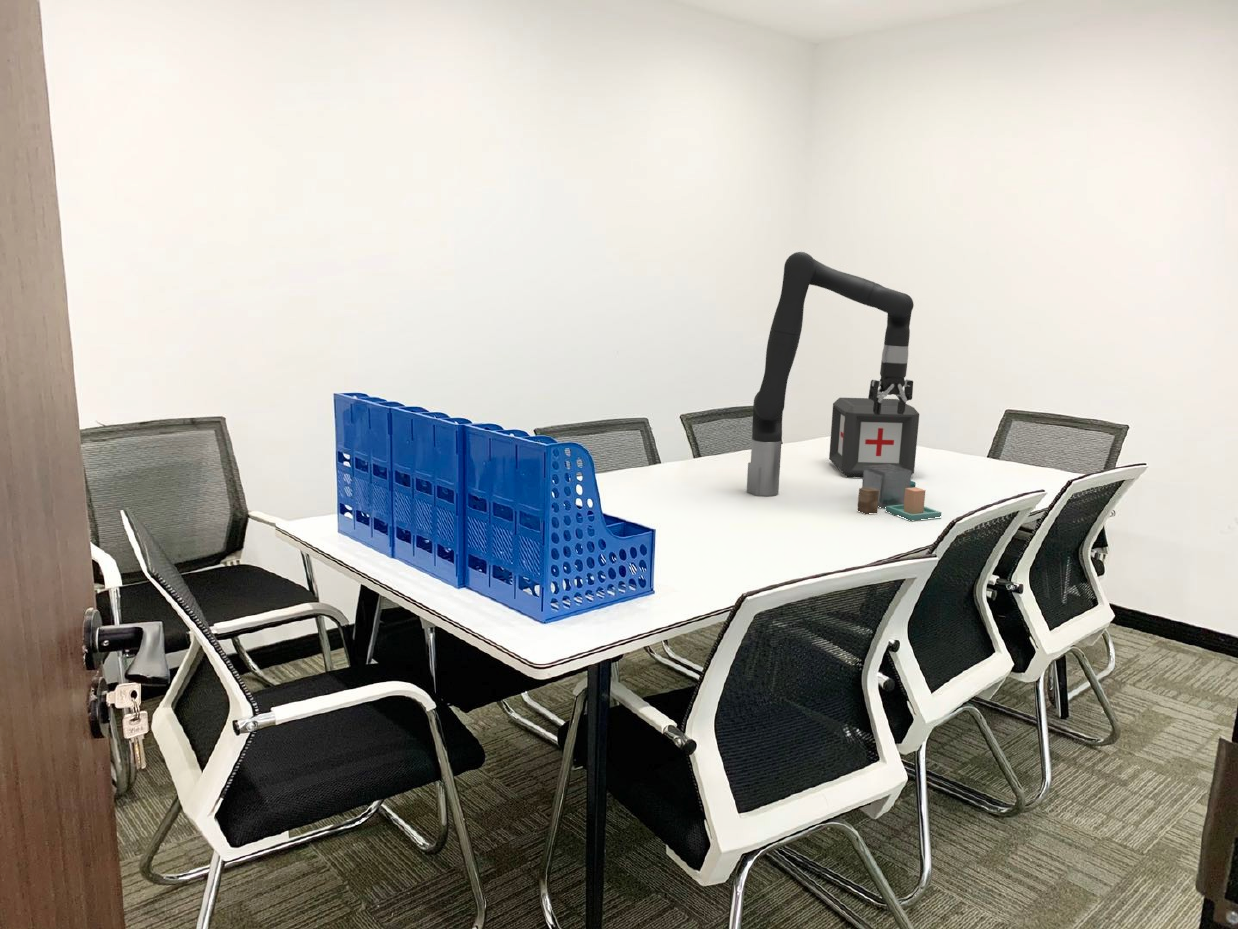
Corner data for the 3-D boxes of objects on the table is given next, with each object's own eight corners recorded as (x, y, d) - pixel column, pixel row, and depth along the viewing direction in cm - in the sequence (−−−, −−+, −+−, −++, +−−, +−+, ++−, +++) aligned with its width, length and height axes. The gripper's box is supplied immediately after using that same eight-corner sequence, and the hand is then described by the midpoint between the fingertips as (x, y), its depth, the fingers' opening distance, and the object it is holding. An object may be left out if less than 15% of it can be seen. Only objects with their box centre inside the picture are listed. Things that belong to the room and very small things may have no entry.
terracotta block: (912, 514, 263) (914, 491, 261) (903, 511, 266) (905, 488, 265) (923, 513, 264) (925, 490, 263) (913, 510, 268) (915, 487, 266)
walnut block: (865, 514, 265) (867, 491, 264) (857, 511, 269) (859, 488, 267) (877, 513, 267) (878, 490, 265) (868, 510, 270) (870, 487, 269)
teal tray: (910, 521, 258) (911, 515, 258) (885, 511, 268) (886, 506, 268) (940, 518, 263) (941, 512, 262) (914, 508, 273) (915, 503, 272)
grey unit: (880, 508, 272) (883, 473, 270) (859, 500, 281) (862, 466, 279) (910, 505, 276) (913, 470, 274) (888, 498, 285) (891, 464, 283)
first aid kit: (915, 480, 311) (922, 408, 306) (842, 478, 311) (847, 406, 306) (895, 465, 335) (901, 398, 330) (827, 463, 336) (832, 396, 330)
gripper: (905, 359, 277) (899, 411, 280) (867, 359, 271) (861, 412, 275) (922, 362, 270) (915, 416, 273) (882, 362, 265) (876, 416, 268)
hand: (888, 414), depth 274 cm, fingers open, 8 cm apart
